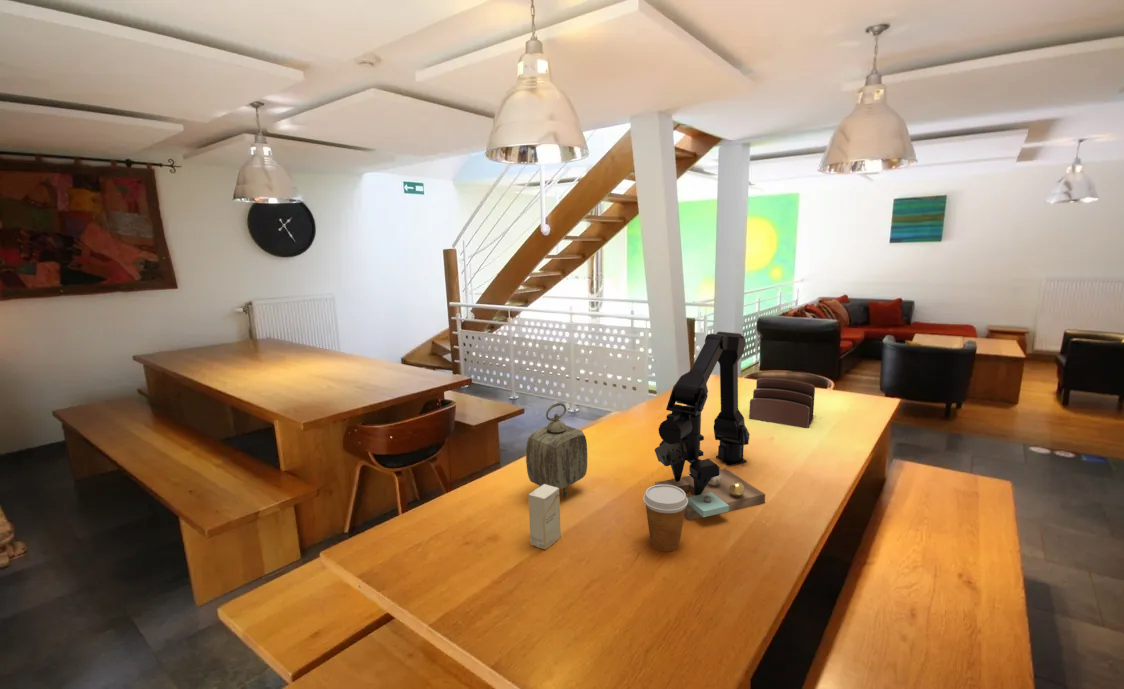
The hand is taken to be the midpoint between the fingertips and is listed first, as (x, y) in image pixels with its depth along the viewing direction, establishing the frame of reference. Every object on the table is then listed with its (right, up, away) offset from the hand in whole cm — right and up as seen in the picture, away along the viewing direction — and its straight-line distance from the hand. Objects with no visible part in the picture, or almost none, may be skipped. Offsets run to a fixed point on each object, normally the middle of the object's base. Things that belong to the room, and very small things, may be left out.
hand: (687, 488), depth 134 cm
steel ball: (+7, +2, +3) cm, 8 cm away
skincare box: (-35, -8, -15) cm, 39 cm away
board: (+6, -3, +2) cm, 7 cm away
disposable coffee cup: (-9, -7, -18) cm, 21 cm away
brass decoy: (+12, +1, -3) cm, 12 cm away
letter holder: (+47, +9, +55) cm, 73 cm away
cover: (+3, -2, -8) cm, 9 cm away
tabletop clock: (-32, -3, +6) cm, 33 cm away
